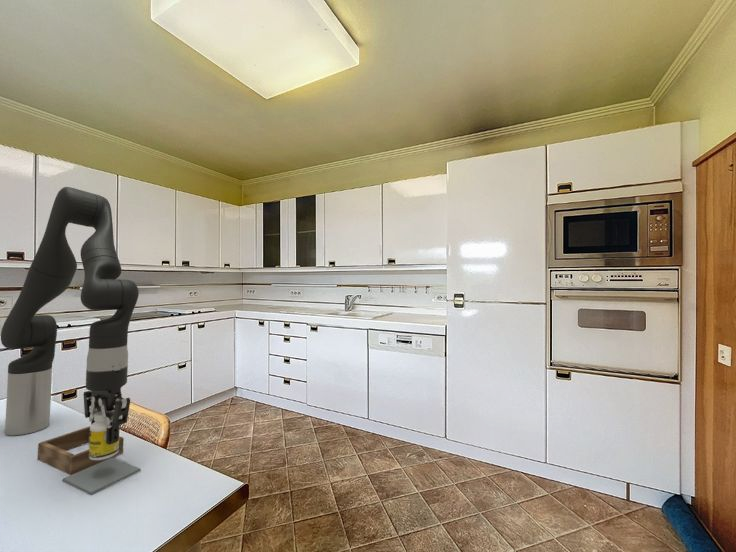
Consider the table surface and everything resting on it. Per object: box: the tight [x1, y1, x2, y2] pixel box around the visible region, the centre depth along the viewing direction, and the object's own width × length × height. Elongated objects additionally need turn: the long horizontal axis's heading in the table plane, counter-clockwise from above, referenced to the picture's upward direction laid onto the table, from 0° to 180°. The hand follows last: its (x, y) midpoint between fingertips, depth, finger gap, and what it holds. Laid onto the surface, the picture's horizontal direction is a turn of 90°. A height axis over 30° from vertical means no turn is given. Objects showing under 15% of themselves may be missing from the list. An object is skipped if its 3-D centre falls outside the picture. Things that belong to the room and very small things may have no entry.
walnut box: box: [36, 425, 125, 476], centre depth 84 cm, size 15×11×4 cm
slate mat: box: [62, 457, 141, 496], centre depth 76 cm, size 11×10×1 cm
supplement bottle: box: [88, 410, 121, 460], centre depth 76 cm, size 5×5×10 cm
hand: (104, 439), depth 76 cm, fingers closed on supplement bottle, 5 cm apart
